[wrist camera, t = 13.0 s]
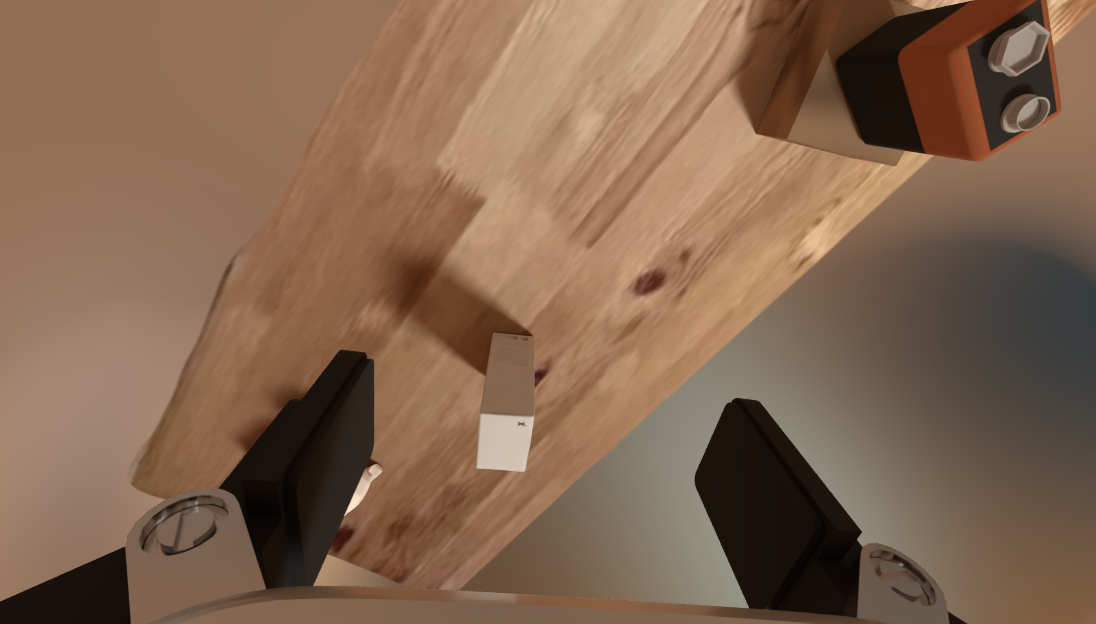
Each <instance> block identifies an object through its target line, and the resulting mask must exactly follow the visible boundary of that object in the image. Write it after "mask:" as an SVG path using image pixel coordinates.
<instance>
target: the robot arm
mask: <svg viewBox="0 0 1096 624" xmlns="http://www.w3.org/2000/svg"><path fill="white" fill-rule="evenodd" d="M373 446H374V361H373V359H367V355H366V353H365V352H357V351H349V350H340V351H339V352H338V353H337V354H336V356H335V357H334V358H333V359H332V361H331V362H330V363H329V365H328V366H327V367H326V369H325V370H324V371H323V372H322V374H321V375H320V376H319V378H318V379H317V380H316V382H315V383H314V384H313V385H312V387H311V388H310V389H309V391H308V392H307V393H306V395H305V396H304V397H303V399H302V400H298V399H293V400H291V401H289V402H288V403H287V404H286V405H285V407H284V408H283V409H282V410H281V412H280V413H279V414H278V415H277V417H276V418H275V419H274V420H273V422H272V423H271V424H270V425H269V426H268V428H267V429H266V430H265V431H264V433H263V434H262V435H261V436H260V438H259V439H258V440H257V441H256V443H255V444H254V445H253V446H252V448H251V449H250V450H249V451H248V452H247V454H246V455H245V456H244V457H243V459H242V460H241V461H240V462H239V464H238V465H237V466H236V467H235V469H234V470H233V471H232V472H231V474H230V475H229V476H228V477H227V479H226V480H225V481H224V482H223V483H222V485H221V486H220V487H219V488H218V489H215V488H205V489H195V490H192V491H188V492H184V493H180V494H178V495H176V496H174V497H171V498H169V499H167V500H165V501H163V502H161V503H160V504H158V505H157V506H155V507H154V508H152V509H151V510H149V511H148V512H147V513H145V514H144V515H143V517H141V518H140V519H139V520H138V521H137V522H136V523H135V525H134V526H133V528H132V529H131V531H130V532H129V534H128V536H127V541H126V546H125V547H123V548H121V549H118V550H116V551H114V552H111V553H109V554H107V555H105V556H102V557H100V558H98V559H96V560H93V561H91V562H89V563H87V564H84V565H82V566H80V567H77V568H75V569H73V570H71V571H69V572H66V573H64V574H62V575H59V576H57V577H55V578H53V579H50V580H48V581H46V582H43V583H41V584H39V585H37V586H35V587H32V588H30V589H28V590H25V591H23V592H21V593H19V594H16V595H14V596H12V597H10V598H7V599H5V600H3V601H0V624H967V623H965V622H964V621H962V620H960V619H959V618H957V617H956V616H954V615H953V614H951V613H949V612H948V611H947V604H946V600H945V597H944V595H943V592H942V591H941V589H940V588H939V586H938V584H937V583H936V581H935V580H934V579H933V578H932V577H931V576H930V575H929V574H928V573H927V572H926V571H925V570H924V569H923V568H922V567H921V566H920V565H918V564H917V563H916V562H915V561H914V560H912V559H910V558H909V557H908V556H906V555H904V554H903V553H901V552H899V551H897V550H895V549H893V548H891V547H888V546H886V545H882V544H878V543H869V544H867V545H865V546H863V547H862V546H861V545H860V543H859V542H858V541H857V538H858V537H859V536H860V534H861V533H862V531H861V530H860V529H859V527H858V526H857V525H856V524H855V522H854V521H853V520H852V518H851V517H850V516H849V515H848V514H847V512H846V511H845V510H844V508H843V507H842V506H841V504H840V503H839V502H838V501H837V499H836V498H835V497H834V496H833V494H832V493H831V492H830V491H829V489H828V488H827V487H826V485H825V484H824V483H823V482H822V480H821V479H820V478H819V477H818V475H817V474H816V473H815V471H813V469H812V468H811V466H810V465H809V464H808V463H807V461H806V460H805V459H804V458H803V456H802V455H801V454H800V452H799V451H798V450H797V449H796V447H795V446H794V445H793V443H792V442H791V441H790V440H789V438H788V437H787V436H786V435H785V433H784V432H783V431H782V430H781V428H780V427H779V426H778V424H777V423H776V422H775V421H774V419H773V418H772V417H771V416H770V414H769V413H768V412H767V411H766V409H765V408H764V407H763V406H762V404H761V403H760V402H759V401H756V400H750V399H741V398H736V399H734V400H732V402H730V403H727V404H726V406H725V408H724V410H723V412H722V414H721V417H720V419H719V421H718V424H717V426H716V428H715V430H714V433H713V435H712V437H711V440H710V442H709V444H708V447H707V448H706V451H705V453H704V455H703V457H702V460H701V462H700V464H699V467H698V469H697V471H696V474H695V486H696V489H697V491H698V493H699V495H700V498H701V500H702V502H703V504H704V507H705V509H706V511H707V514H708V516H709V518H710V521H711V523H712V525H713V527H714V529H715V532H716V534H717V536H718V539H719V541H720V543H721V545H722V548H723V550H724V552H725V554H726V557H727V559H728V561H729V563H730V566H731V568H732V570H733V573H734V575H735V577H736V579H737V581H738V584H739V586H740V588H741V590H742V593H743V595H744V597H745V600H746V602H747V604H748V606H749V609H748V608H735V607H719V606H705V605H704V606H703V605H689V604H675V603H674V604H673V603H659V602H642V601H626V600H610V599H592V598H577V597H559V596H543V595H525V594H506V593H488V592H471V591H453V590H435V589H413V588H386V587H359V586H313V585H314V583H315V580H316V578H317V576H318V574H319V572H320V569H321V567H322V564H323V563H324V560H325V558H326V556H327V554H328V551H329V549H330V547H331V545H332V542H333V540H334V538H335V536H336V533H337V531H338V529H339V527H340V524H341V522H342V520H343V518H344V515H345V513H346V511H347V509H348V506H349V504H350V502H351V500H352V498H353V495H354V493H355V491H356V489H357V486H358V484H359V482H360V480H361V477H362V475H363V473H364V471H365V468H366V466H367V464H368V462H369V459H370V457H371V454H372V451H373Z"/></svg>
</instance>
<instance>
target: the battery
mask: <svg viewBox="0 0 1096 624" xmlns="http://www.w3.org/2000/svg"><path fill="white" fill-rule="evenodd" d="M836 67H837V70H838V73H839V76H840V78H841V81H842V84H843V87H844V90H845V92H846V95H847V98H848V101H849V104H850V106H851V109H852V112H853V115H854V118H855V120H856V123H857V126H858V129H859V132H860V134H861V137H862V140H863V142H864V143H865V144H867V145H872V146H878V147H885V148H891V149H898V150H904V151H911V152H917V153H924V154H930V155H936V156H943V157H949V158H956V159H963V160H969V161H977V162H978V161H982V160H984V159H986V158H988V157H989V156H991V155H993V154H994V153H996V152H998V151H999V150H1001V149H1003V148H1004V147H1006V146H1008V145H1009V144H1011V143H1013V142H1014V141H1016V140H1018V139H1020V138H1021V137H1023V136H1024V135H1026V134H1028V133H1029V132H1031V131H1033V130H1034V129H1036V128H1038V127H1040V126H1041V125H1043V124H1045V123H1046V122H1048V121H1050V120H1051V119H1053V118H1054V117H1056V116H1057V115H1058V114H1059V113H1060V111H1061V100H1060V93H1059V87H1058V86H1059V85H1058V79H1057V71H1056V64H1055V57H1054V50H1053V43H1052V35H1051V28H1050V21H1049V14H1048V7H1047V0H973V1H968V2H964V3H959V4H954V5H949V6H944V7H940V8H935V9H930V10H925V11H920V12H916V13H911V14H906V15H901V16H897V17H894V18H893V19H891V20H890V21H888V22H887V23H886V24H884V25H883V26H881V27H880V28H879V29H877V30H876V31H874V32H873V33H872V34H870V35H869V36H867V37H866V38H865V39H863V40H862V41H860V42H859V43H857V44H856V45H855V46H853V47H852V48H850V49H849V50H848V51H846V52H845V53H844V54H842V55H841V56H840V57H839V58H838V59H837V61H836Z"/></svg>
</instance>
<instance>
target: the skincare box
mask: <svg viewBox="0 0 1096 624" xmlns="http://www.w3.org/2000/svg"><path fill="white" fill-rule="evenodd" d="M534 405H535V401H534V337H533V336H524V335H514V334H505V333H493V335H492V341H491V347H490V353H489V360H488V366H487V372H486V378H485V384H484V390H483V396H482V403H481V409H480V416H479V424H478V439H477V455H476V468H483V469H497V470H510V471H520V472H524V471H525V469H526V463H527V457H528V451H529V448H530V441H531V435H532V428H533V422H534V408H535V407H534Z"/></svg>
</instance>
